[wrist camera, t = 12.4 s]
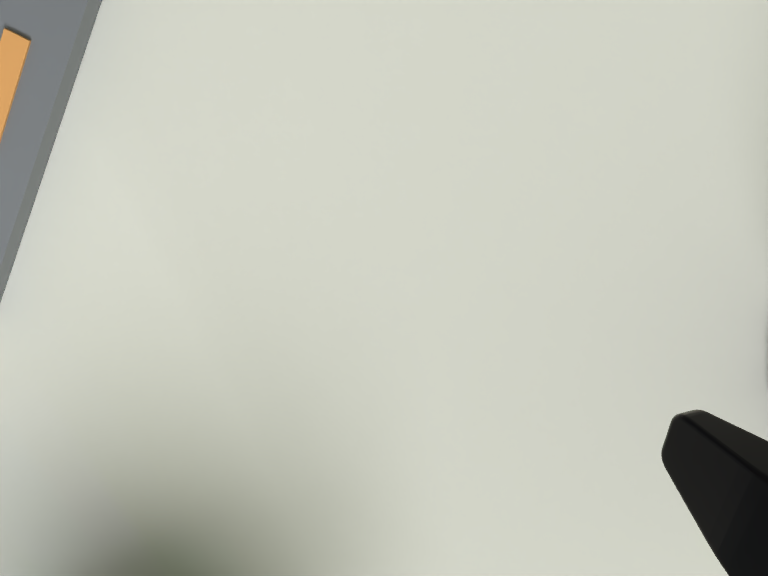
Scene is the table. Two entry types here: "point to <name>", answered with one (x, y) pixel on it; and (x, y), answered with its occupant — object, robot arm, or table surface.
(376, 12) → the table surface
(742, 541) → the robot arm
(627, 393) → the table surface
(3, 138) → the tool board
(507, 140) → the table surface
